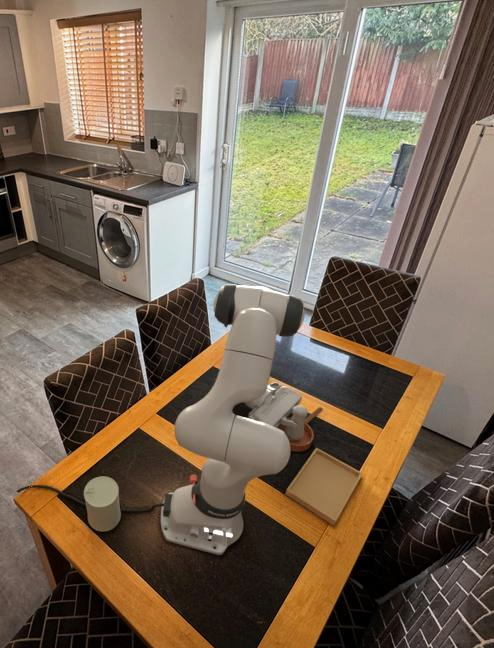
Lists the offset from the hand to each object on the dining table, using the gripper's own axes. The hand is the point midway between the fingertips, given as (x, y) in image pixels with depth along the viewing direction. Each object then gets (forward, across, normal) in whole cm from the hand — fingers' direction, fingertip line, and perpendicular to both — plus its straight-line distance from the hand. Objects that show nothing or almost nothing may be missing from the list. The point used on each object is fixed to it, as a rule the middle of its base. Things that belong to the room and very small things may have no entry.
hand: (300, 422), depth 128 cm
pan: (-1, 0, +8) cm, 8 cm away
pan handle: (0, +11, +6) cm, 13 cm away
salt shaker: (-1, 0, +8) cm, 8 cm away
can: (-24, -62, +8) cm, 67 cm away
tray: (+15, -10, +8) cm, 20 cm away
